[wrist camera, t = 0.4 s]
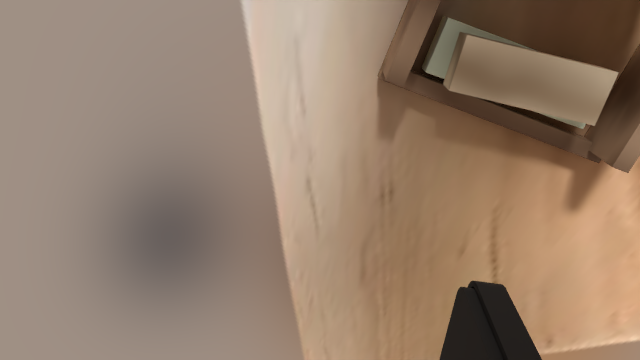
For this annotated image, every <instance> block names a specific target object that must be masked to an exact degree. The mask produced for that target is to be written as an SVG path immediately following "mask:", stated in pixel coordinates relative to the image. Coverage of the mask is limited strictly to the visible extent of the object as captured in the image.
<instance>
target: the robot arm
mask: <svg viewBox="0 0 640 360" xmlns="http://www.w3.org/2000/svg"><path fill="white" fill-rule="evenodd" d="M440 360H542V359H541V357H540V355H539V353H538V351H537V349H536V347H535V345H534V343H533V341H532V339H531V337H530V335H529V333H528V331H527V329H526V327H525V326H524V324H523V322H522V320H521V318H520V316H519V314H518V312H517V310H516V308H515V306H514V304H513V302H512V300H511V298H510V296H509V294H508V292H507V290H506V288H505V287H504V286H503V285H501V284H494V283H486V282H479V281H471V282H470V284H469V285H468V288H465V287H460V288H459V290H458V292H457V295H456V299H455V303H454V306H453V310H452V314H451V318H450V322H449V325H448V329H447V333H446V337H445V341H444V344H443V348H442V352H441V356H440Z"/></svg>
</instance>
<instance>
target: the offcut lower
mask: <svg viewBox="0 0 640 360" xmlns="http://www.w3.org/2000/svg"><path fill="white" fill-rule="evenodd" d="M460 32H463V33H467V34H472V35H476V36H480V37H484V38H488V39H492V40H496V41H500V42H504V43H508V44H512V45H516V46H520V47H524V48H528V49H532V48H529V47H526V46H524V45H521V44H518V43H516V42H513V41H510V40H507V39H505V38H502V37H499V36H497V35H494V34H491V33H489V32H486V31H483V30H481V29H478V28H475V27H472V26H470V25H467V24H464V23H462V22H459V21H456V20H454V19H451V18H448V17H446V16H443V17H442V19H441V22H440V24H439V26H438V29H437V31H436V34H435V36H434V38H433V41H432V43H431V46H430V48H429V50H428V53H427V55H426V58H425V60H424V62H423V65H422V67H421V68H422V69H423V70H424V71H425V72H426V73H429V74H432V75H435V76H437V77H440V78H443V79H445V76H446V73H447V70H448V67H449V64H450V61H451V58H452V54H453V51H454V48H455V45H456V42H457V39H458V36H459V33H460ZM532 50H534V49H532ZM536 51H537V50H536ZM534 112H535V111H534ZM537 113H539V112H537ZM540 114H542V115H545V116H548V117H551V118H553V119H556V120H559V121H562V122H564V123H567V124H570V125H573V126H576V127H578V128H581V129H583V128H584V127H585V125H586V124H585V123H581V122H577V121H572V120H568V119H564V118H560V117H556V116H552V115H548V114H544V113H540Z"/></svg>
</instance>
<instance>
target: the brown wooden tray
mask: <svg viewBox="0 0 640 360" xmlns="http://www.w3.org/2000/svg"><path fill="white" fill-rule="evenodd" d="M440 2H441V0H409V1H408V4H407V6H406V8H405V11H404V13H403V16H402V18H401V21H400V23H399V25H398V28H397V30H396V33H395V35H394V38H393V40H392V42H391V45H390V47H389V50H388V52H387V55H386V57H385V59H384V62H383V64H382V67H381V69H380V72H379V74H378V77H379V79H381V80H383V81H386V82H389V83H391V84H394V85H396V86H399V87H402V88H404V89H407V90H410V91H412V92H415V93H417V94H420V95H423V96H425V97H428V98H430V99H433V100H436V101H438V102H441V103H443V104H446V105H449V106H451V107H454V108H456V109H459V110H462V111H464V112H467V113H469V114H472V115H475V116H477V117H480V118H482V119H485V120H488V121H490V122H493V123H495V124H498V125H501V126H503V127H506V128H508V129H511V130H514V131H516V132H519V133H522V134H524V135H527V136H529V137H532V138H535V139H537V140H540V141H542V142H545V143H548V144H550V145H553V146H555V147H558V148H561V149H563V150H566V151H568V152H571V153H574V154H576V155H579V156H581V157H584V158H587V159H589V160H592V161H594V162H597V163H599V162H600V161H601V159H602V160H603V161H604V162H606V163H607V164H609V165H610V166H612V167H614V168H616V169H619V170H621V171H624V172H627V173H629V171H630V169H631V168H632V166H633V165H634V163H635V162H636V160H637V159H638V157H639V156H640V44H639V46H638V48H637V49H636V51H635V53H634V54H633V56H632V58H631V59H630V61H629V63H628V64H627V66H626V68H625V70H624V71H623V73H622V75H621V76H620V78H619V80H618V81H617V83H616V85H615V86H614V88H613V90H612V91H611V93H610V95H609V96H608V98H607V100H606V102H605V104H604V107H603V109H602V111H601V113H600V115H599V118H598V120H597V122H596V124H595V126H593V125H591V126H590V128H589V130H588V131H587V133H586V135H585V136H584V137H583V136H580V135H578V134H575V133H573V132H570V131H567V130H565V129H562V128H560V127H557V126H555V125H552V124H549V123H547V122H544V121H542V120H539V119H536V118H534V117H531V116H529V115H526V114H524V113H521V112H518V111H516V110H513V109H511V108H508V107H506V106H503V105H500V104H498V103H495V102H493V101H490V100H486V99H482V98H478V97H473V96H469V95H465V94H461V93H457V92H453V91H449V90H448V89H447V88H446V87H445V86H444V85H443V82H441V81H438V80H436V79H433V78H431V77H428V76H426V75H423V74H420V73H418V72H415V71H413V70H411V68H412V66H413V64H414V61H415V59H416V57H417V54H418V52H419V50H420V48H421V45H422V43H423V41H424V38H425V36H426V34H427V31H428V29H429V27H430V25H431V22H432V20H433V18H434V15H435V13H436V11H437V8H438V6H439V4H440Z"/></svg>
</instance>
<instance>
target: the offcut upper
mask: <svg viewBox="0 0 640 360" xmlns="http://www.w3.org/2000/svg"><path fill="white" fill-rule="evenodd" d="M618 73H619V72H616V71H613V70H610V69H607V68H604V67H601V66H597V65H593V64H589V63H585V62H581V61H577V60H573V59H569V58H565V57H561V56H556V55H552V54H548V53H544V52H540V51H536V50H532V49H528V48H524V47H520V46H516V45H512V44H508V43H504V42H500V41H496V40H492V39H488V38H484V37H480V36H476V35H472V34H467V33H463V32H460V33H459V36H458V39H457V42H456V45H455V48H454V51H453V54H452V58H451V61H450V64H449V67H448V70H447V73H446V76H445V79H444V82H443V85H444V86H445V87H446V88H447V89H448V90H449V91H453V92H457V93H461V94H465V95H469V96H473V97H478V98H482V99H486V100H490V101H494V102H498V103H502V104H506V105H511V106H515V107H519V108H523V109H527V110H531V111H535V112H539V113H544V114H548V115H552V116H556V117H560V118H564V119H568V120H572V121H577V122H581V123H585V124H589V125H593V126H595V124H596V122H597V120H598V118H599V115H600V113H601V111H602V109H603V107H604V104H605V102H606V100H607V98H608V95H609V93H610V91H611V89H612V87H613V84H614V82H615V80H616V78H617V76H618Z"/></svg>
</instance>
